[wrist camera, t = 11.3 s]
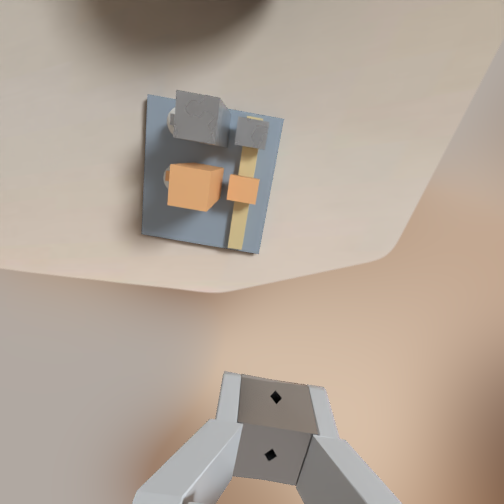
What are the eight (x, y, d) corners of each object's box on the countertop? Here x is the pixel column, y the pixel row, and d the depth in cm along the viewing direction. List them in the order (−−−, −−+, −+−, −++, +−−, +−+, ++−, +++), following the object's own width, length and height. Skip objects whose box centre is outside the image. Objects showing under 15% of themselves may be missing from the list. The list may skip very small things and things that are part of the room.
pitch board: (144, 231, 41) (138, 235, 39) (151, 96, 36) (144, 92, 34) (258, 251, 42) (258, 256, 40) (283, 120, 36) (284, 117, 34)
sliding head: (170, 189, 38) (140, 200, 28) (173, 158, 37) (142, 159, 27) (255, 204, 38) (253, 219, 29) (260, 174, 37) (260, 179, 27)
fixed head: (175, 138, 36) (144, 132, 27) (177, 104, 35) (146, 84, 25) (263, 154, 36) (264, 153, 27) (269, 120, 35) (272, 107, 26)
